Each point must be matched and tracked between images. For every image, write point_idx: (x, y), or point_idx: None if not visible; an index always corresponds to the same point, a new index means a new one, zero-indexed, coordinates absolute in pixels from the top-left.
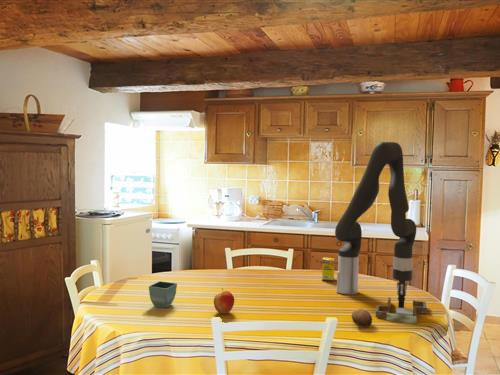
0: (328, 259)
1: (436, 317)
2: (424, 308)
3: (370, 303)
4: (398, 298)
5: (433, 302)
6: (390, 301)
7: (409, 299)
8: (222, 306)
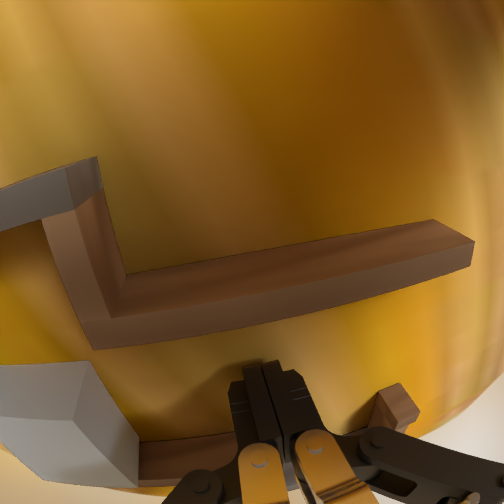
0: None
1: None
2: None
3: (359, 33)
4: (162, 502)
5: (450, 409)
6: (379, 286)
7: (495, 322)
8: None
